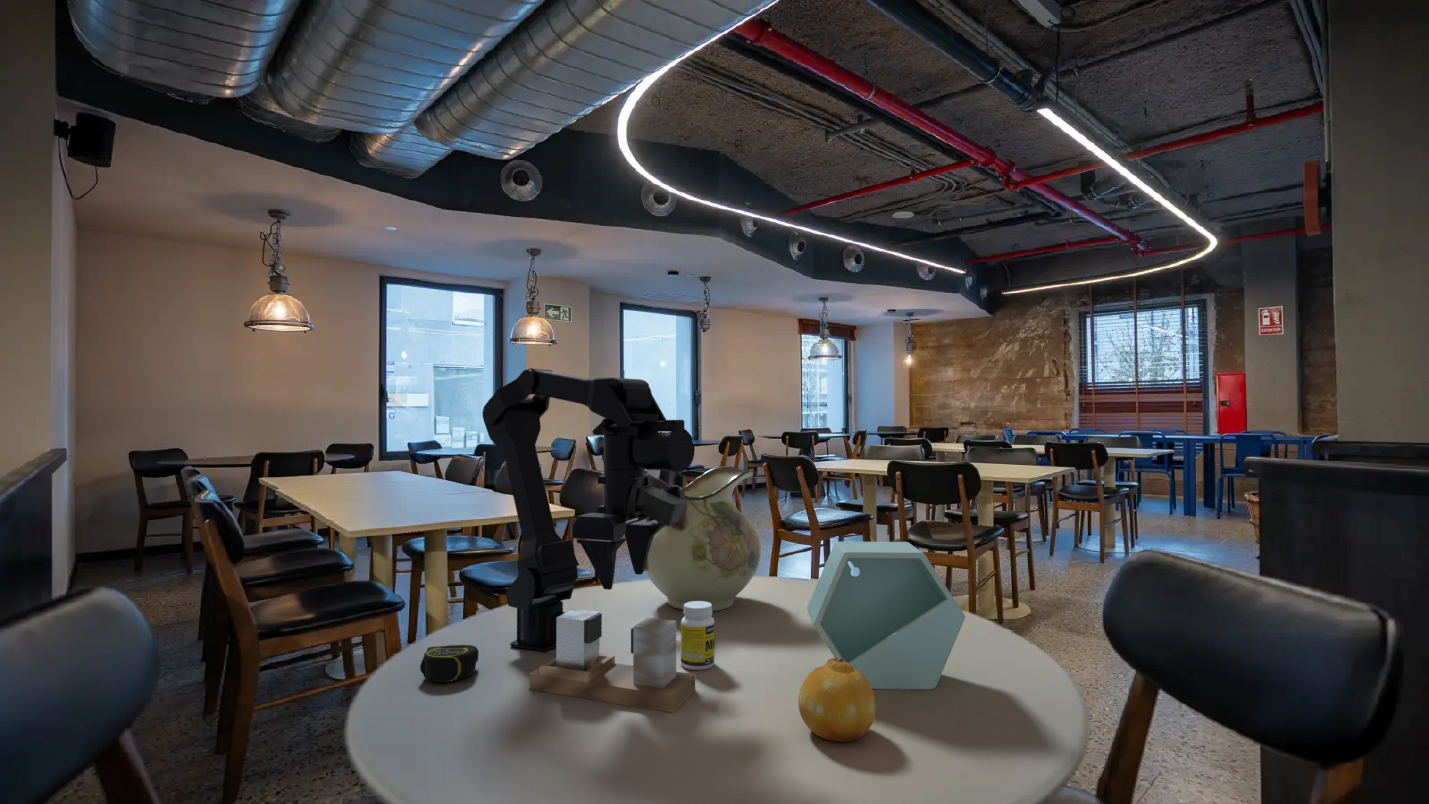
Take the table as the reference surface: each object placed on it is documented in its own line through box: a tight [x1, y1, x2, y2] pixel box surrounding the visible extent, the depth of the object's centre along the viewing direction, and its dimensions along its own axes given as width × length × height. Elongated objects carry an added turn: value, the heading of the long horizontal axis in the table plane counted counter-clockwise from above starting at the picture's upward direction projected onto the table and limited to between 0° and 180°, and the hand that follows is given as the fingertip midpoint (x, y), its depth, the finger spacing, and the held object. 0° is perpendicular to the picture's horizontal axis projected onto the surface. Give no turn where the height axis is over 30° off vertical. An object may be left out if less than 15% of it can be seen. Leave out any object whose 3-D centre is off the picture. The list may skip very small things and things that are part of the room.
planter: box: [806, 541, 966, 691], centre depth 91 cm, size 17×8×21 cm
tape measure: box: [419, 644, 480, 682], centre depth 91 cm, size 7×7×4 cm
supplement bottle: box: [680, 601, 715, 671], centre depth 96 cm, size 5×5×8 cm
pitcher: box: [643, 465, 762, 612], centre depth 127 cm, size 22×24×25 cm
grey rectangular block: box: [555, 608, 603, 671], centre depth 89 cm, size 4×5×7 cm
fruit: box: [797, 657, 877, 742], centre depth 75 cm, size 8×8×8 cm
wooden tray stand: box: [528, 617, 696, 713], centre depth 87 cm, size 20×7×9 cm, turn 70°
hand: (624, 581), depth 94 cm, fingers open, 9 cm apart
